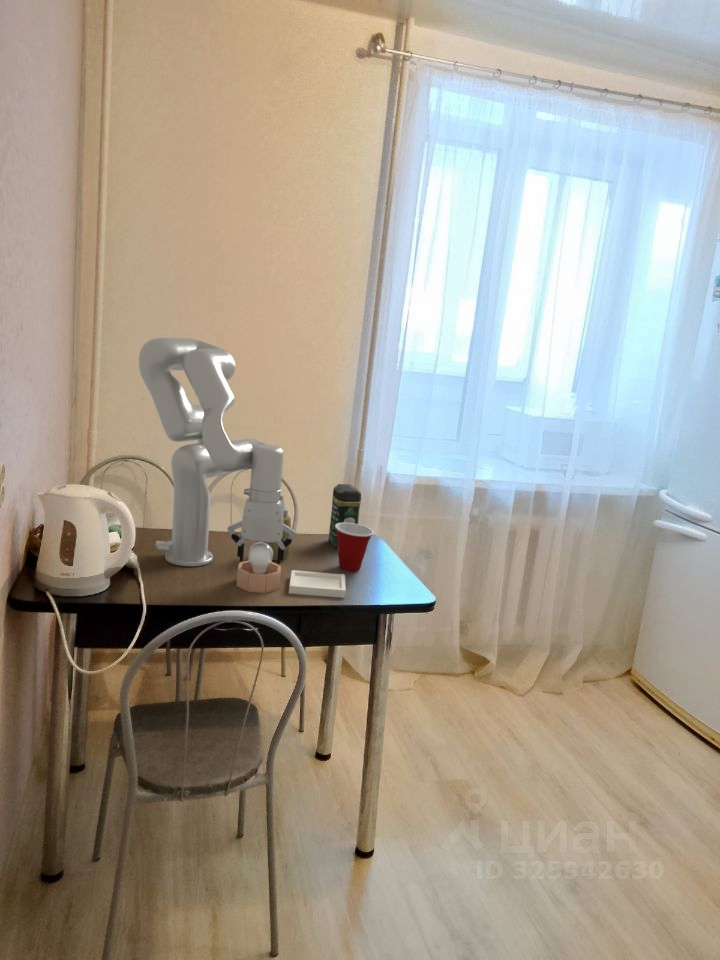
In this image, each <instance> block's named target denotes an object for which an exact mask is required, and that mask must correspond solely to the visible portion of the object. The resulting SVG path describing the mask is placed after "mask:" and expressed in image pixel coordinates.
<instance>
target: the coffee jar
mask: <svg viewBox="0 0 720 960" xmlns="http://www.w3.org/2000/svg"><path fill="white" fill-rule="evenodd" d="M331 502H332V503H331V514H330V521H329V522H330V524H329V533H328V541H329V543H330V545H331V546H333V547H334V548H336V549H338V542H337V531H336V528H335V526H336V524H338V523H344V522H345V523H355V524H359V516H360V508H361V504H362V503H361V502H362V492H361V491H360V490H359V489H358V488H357V487H354V486H353V485H352V484H351V483H350V484H349V483H348V484H346V483H339V484H338V483H337V485H335V486H333V491H332V501H331Z"/></svg>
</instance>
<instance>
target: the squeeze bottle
mask: <svg viewBox="0 0 720 960" xmlns="http://www.w3.org/2000/svg"><path fill="white" fill-rule="evenodd" d="M280 500H281V501H282V503H283V515H284V520H283V523H284V524H285V525H287V526H288V527H290V528H291V529H292V520H291V519H292V518H291V516H290V515H289V508H287V507H285V501H284V495H283V494H280ZM289 536H290V534H288V533H287V532H285V531H283V535H282V539H283V540H284V541H285V540H286V539H287V538H288V537H289ZM263 543H266V544H268V545H269V546H270V547H271V548H272V550H273V559H272V561H277V557H278V548H279V545H278V544H277V543H276V542H275V543H274V542H263ZM291 548H292V543H291V544H289V545H288V546H287V547H286V548H285V549H284V556H283V560H286V559H287V557H288V555H289V553H290V550H291Z"/></svg>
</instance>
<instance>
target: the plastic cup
mask: <svg viewBox="0 0 720 960" xmlns="http://www.w3.org/2000/svg"><path fill="white" fill-rule="evenodd" d="M335 528H336V531H337V542H338V548H337V556H338V566H339V569H340V570H341V571H344V572H350V573H352V572H353V573H356V572H358V571H360V570H361V567H362V564H363V560H364V557H365V554H366V551H367V548H368V545H369V544H368V543H369V541H370V540H371V537H372V536H373V535H374V530H373V529H372V528H370V527H369V526H365V525H363V524H359V523H358V524H355V523H345V522H344V523H338V524H336V526H335Z"/></svg>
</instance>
